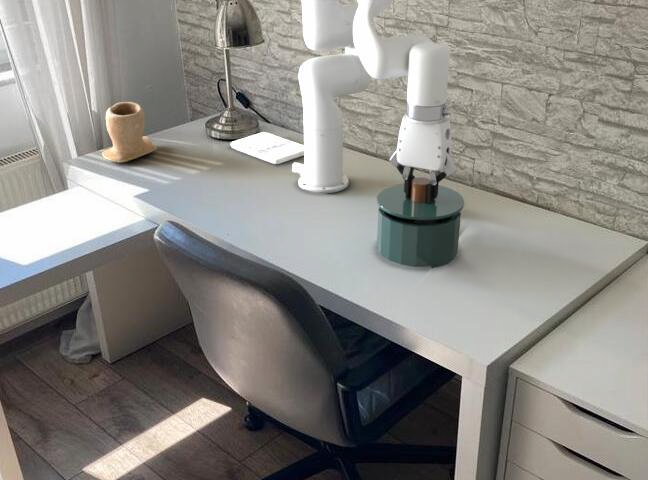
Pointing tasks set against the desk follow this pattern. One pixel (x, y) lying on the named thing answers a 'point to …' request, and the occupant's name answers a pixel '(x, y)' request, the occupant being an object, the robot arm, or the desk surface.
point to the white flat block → (269, 147)
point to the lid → (420, 201)
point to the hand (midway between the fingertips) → (420, 197)
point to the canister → (418, 240)
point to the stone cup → (126, 133)
